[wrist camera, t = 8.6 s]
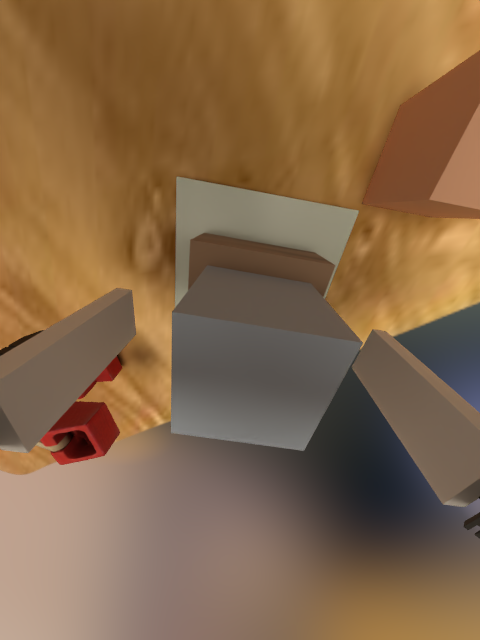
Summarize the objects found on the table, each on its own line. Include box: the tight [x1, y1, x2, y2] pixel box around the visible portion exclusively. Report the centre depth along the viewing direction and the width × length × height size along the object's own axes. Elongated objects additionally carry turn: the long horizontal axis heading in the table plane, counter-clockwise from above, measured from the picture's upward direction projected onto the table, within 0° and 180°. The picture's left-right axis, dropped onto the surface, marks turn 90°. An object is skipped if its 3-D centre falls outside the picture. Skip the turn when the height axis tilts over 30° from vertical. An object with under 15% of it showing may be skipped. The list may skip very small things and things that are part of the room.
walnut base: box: [188, 233, 335, 297], centre depth 15 cm, size 8×8×4 cm
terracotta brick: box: [362, 50, 480, 219], centre depth 10 cm, size 5×5×6 cm
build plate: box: [175, 176, 359, 307], centre depth 16 cm, size 12×12×1 cm
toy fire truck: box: [36, 356, 122, 465], centre depth 17 cm, size 3×14×10 cm, turn 94°
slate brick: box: [171, 265, 363, 451], centre depth 10 cm, size 6×6×6 cm
